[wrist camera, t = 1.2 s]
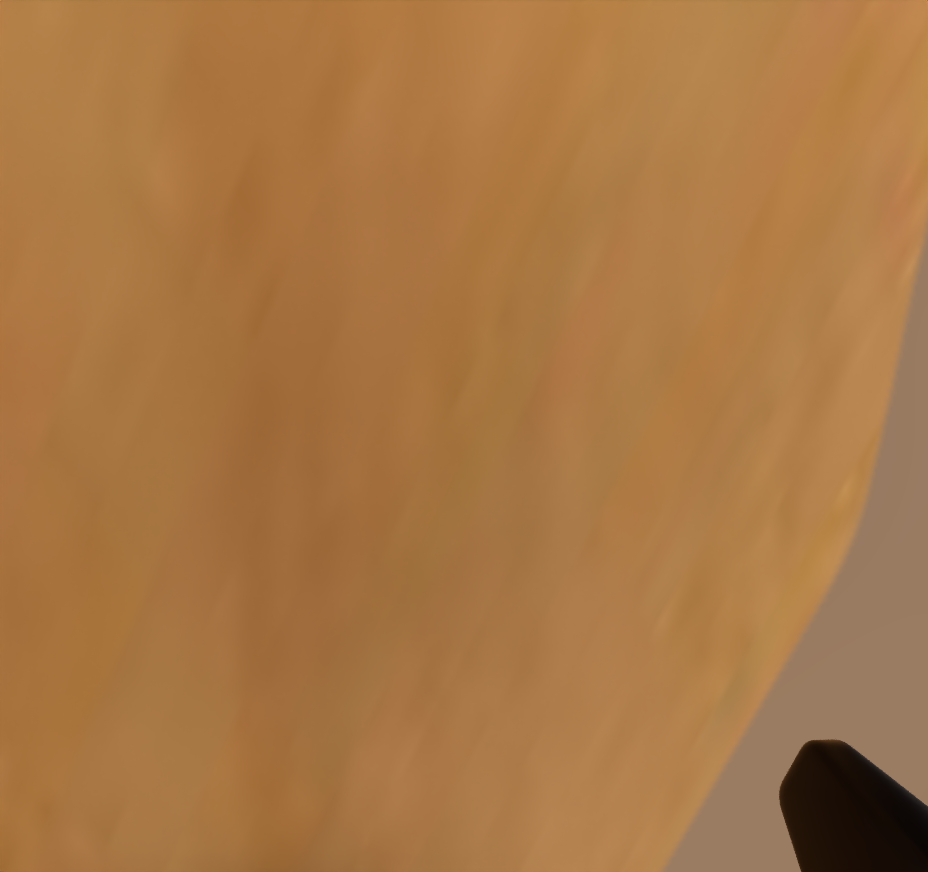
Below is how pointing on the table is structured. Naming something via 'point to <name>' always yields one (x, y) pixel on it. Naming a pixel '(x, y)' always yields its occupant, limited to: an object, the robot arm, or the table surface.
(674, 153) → the table surface
